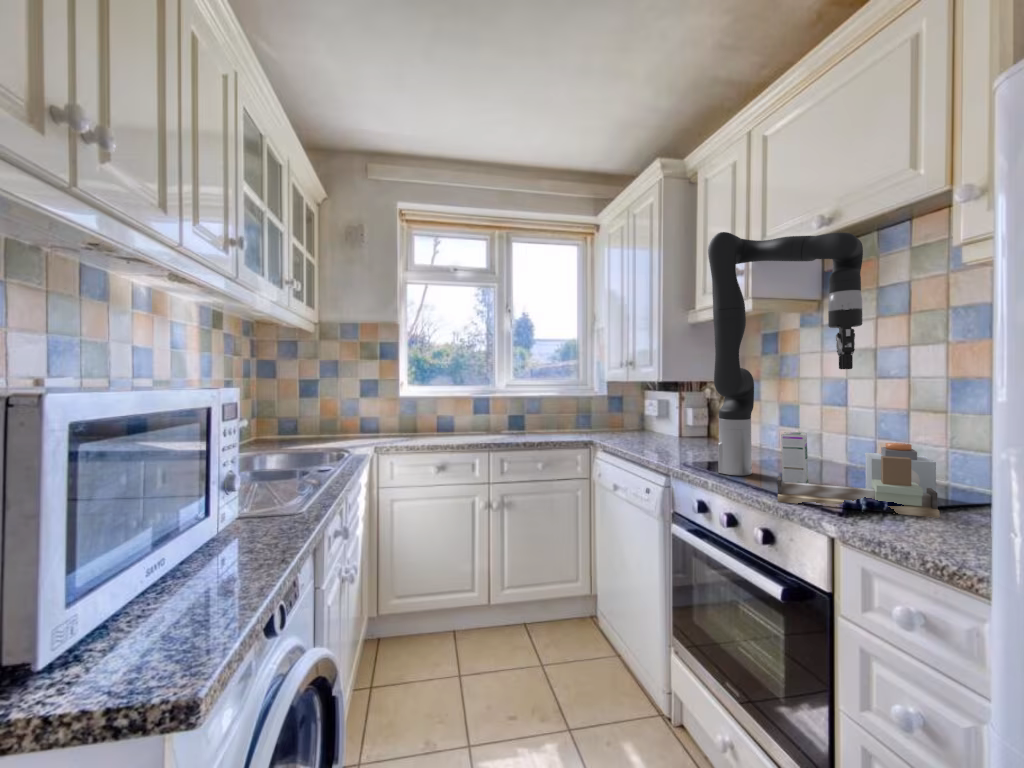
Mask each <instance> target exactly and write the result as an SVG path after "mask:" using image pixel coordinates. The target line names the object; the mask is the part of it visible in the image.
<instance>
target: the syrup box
mask: <svg viewBox="0 0 1024 768" xmlns="http://www.w3.org/2000/svg"><path fill="white" fill-rule="evenodd" d="M780 442H781V471H782V472H781V474H782V475H781V478H782V482H794V483H806V484H809V465H808V462H809V458H808V454H809V453H808V434H807V433H805V432H800V431H799V432H795V431H793V432H792V431H790V432H789V431H788V432H787V431H785V432H784V433H782V434H781V441H780Z"/></svg>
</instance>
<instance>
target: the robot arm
mask: <svg viewBox="0 0 1024 768" xmlns="http://www.w3.org/2000/svg"><path fill="white" fill-rule="evenodd" d="M863 247H864V246H863V244H862V241H861V240H860V239H859V238H858V237H857V236H855V234H852V233H849V232H833V233H832V232H831V233H825V234H820V235H819V234H818V235H792V236H791V235H789V236H782V237H777V238H772V239H771V238H770V239H766V240H765V239H764V240H763V239H761V240H753V239H744V238H741V237H739V236H737V235H735V234H734V233H731V232H728V231H721V232H717V233H716V234H715V235H714V236H713V237H712V238H711V239H710V240H709V244H708V246H707V255H708V263H709V267H710V272H711V273H710V274H711V284H712V285H711V287H712V289H711V290H712V293H711V294H712V317H713V318H712V319H713V320H712V321H713V329H714V330H713V331H714V332H713V333H714V334H713V336H714V350H715V351H714V352H715V353H714V354H715V356H714V369H713V370H714V373H713V384H714V389H715V390H716V392H717V393H718V394H719V395H720V396H722V397H723V398H724V399H723V400H724V401H723V404H722V406H721V407H720V409H719V411H718V442H717V443H718V444H717V452H718V453H717V454H718V457H717V460H718V461H717V462H718V464H717V465H718V471H717V472H718V473H719V474H724V475H730V476H749V475H752V473H753V471H752V470H753V469H752V468H753V465H752V461H753V460H752V413H753V410H754V405H755V404H754V403H755V401H754V400H755V381H754V376H753V375H752V373H751V372H750V371H749V370H747V369H746V368H743V367H741V363H740V362H741V361H740V347H741V343H742V340H743V336H744V335H745V331H746V324H747V322H746V321H747V319H746V318H747V317H746V314H747V313H746V303H745V300H744V299H745V298H744V295H743V292H742V290H741V287H740V284H739V280H738V278H737V276H738V275H737V268H736V267H737V265H740V264H745V263H753V262H767V261H769V262H813V261H816V260H832V273H831V274H830V276H829V278H828V279H829V281H828V282H829V283H828V284H829V285H828V286H829V287H828V289H829V290H828V292H829V294H828V302H827V303H828V305H827V309H828V310H827V311H828V312H827V315H828V316H827V317H828V322H827V323H828V324H827V326H828V328H830V329H838V332H837V333H836V335H835V340H836V343H835V344H836V345H835V347H836V353H837V356H838V369H839V370H852V369H853V367H854V366H853V355H854V353H855V350H856V349H855V347H856V346H855V345H856V343H855V342H856V341H855V339H856V333H855V328H857V327H861V326H862V325H863V297H862V295H863V294H862V277H861V271H862V266H863V265H862V264H863V255H864V248H863Z"/></svg>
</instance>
